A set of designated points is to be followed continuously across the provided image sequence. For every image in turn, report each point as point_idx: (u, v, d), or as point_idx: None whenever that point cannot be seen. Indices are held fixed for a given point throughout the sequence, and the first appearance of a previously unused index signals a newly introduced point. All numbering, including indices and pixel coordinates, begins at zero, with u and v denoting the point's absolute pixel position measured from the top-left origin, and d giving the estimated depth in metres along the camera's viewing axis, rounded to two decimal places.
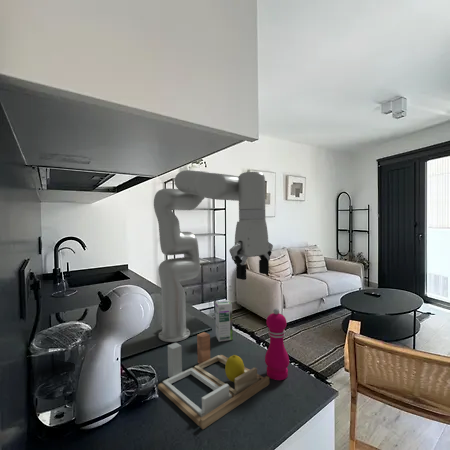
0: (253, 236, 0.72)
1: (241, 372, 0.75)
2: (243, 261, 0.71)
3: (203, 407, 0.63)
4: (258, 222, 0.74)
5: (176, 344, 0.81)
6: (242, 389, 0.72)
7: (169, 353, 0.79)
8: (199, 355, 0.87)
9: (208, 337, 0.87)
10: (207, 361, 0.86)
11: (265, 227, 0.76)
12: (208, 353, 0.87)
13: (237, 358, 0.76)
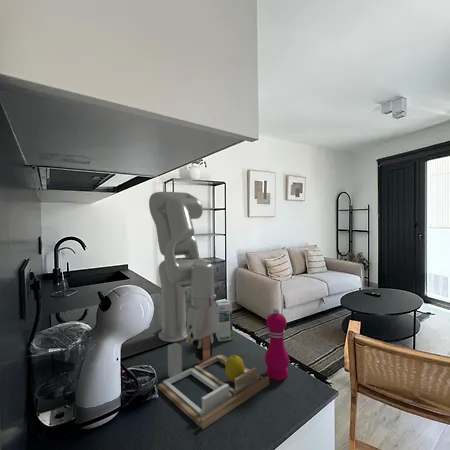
0: (202, 321, 0.84)
1: (241, 372, 0.75)
2: (199, 345, 0.85)
3: (203, 407, 0.63)
4: (207, 308, 0.85)
5: (176, 344, 0.81)
6: (242, 389, 0.72)
7: (169, 353, 0.79)
8: None
9: (208, 337, 0.87)
10: (207, 361, 0.86)
11: (214, 310, 0.88)
12: (208, 353, 0.87)
13: (237, 358, 0.76)
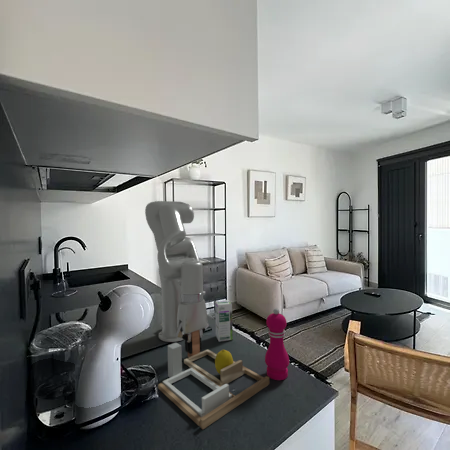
0: (191, 316, 0.88)
1: None
2: (189, 339, 0.89)
3: (203, 407, 0.63)
4: (196, 304, 0.89)
5: (176, 344, 0.81)
6: (227, 380, 0.76)
7: (169, 353, 0.79)
8: None
9: (197, 332, 0.91)
10: (196, 355, 0.90)
11: (203, 306, 0.92)
12: (197, 347, 0.91)
13: (226, 352, 0.79)
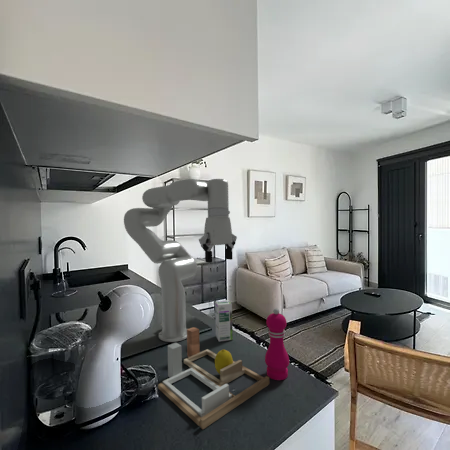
0: (218, 229, 0.93)
1: None
2: (209, 248, 0.92)
3: (203, 407, 0.63)
4: (222, 218, 0.94)
5: (176, 344, 0.81)
6: (227, 380, 0.76)
7: (169, 353, 0.79)
8: (189, 349, 0.91)
9: (197, 332, 0.91)
10: (196, 354, 0.90)
11: (229, 222, 0.97)
12: (197, 347, 0.91)
13: (226, 352, 0.79)
